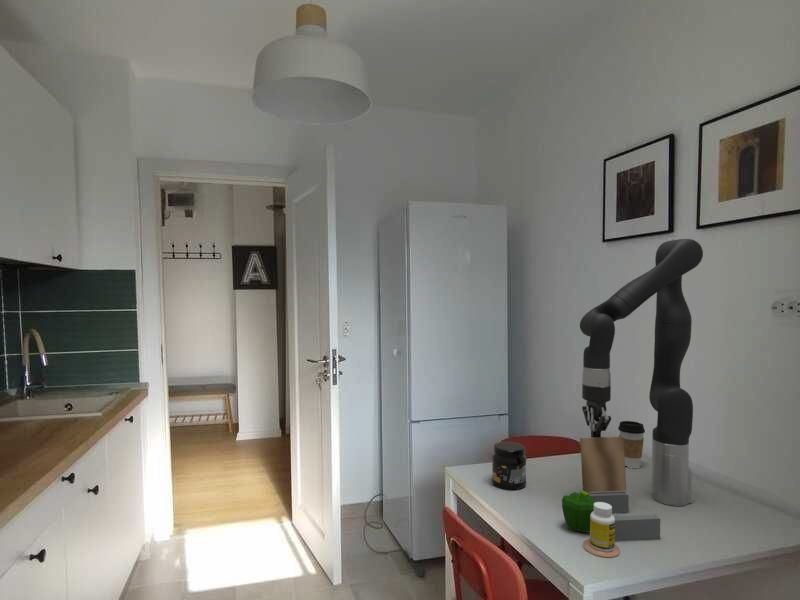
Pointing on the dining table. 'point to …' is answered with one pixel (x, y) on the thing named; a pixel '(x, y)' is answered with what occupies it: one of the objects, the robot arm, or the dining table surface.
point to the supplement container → (509, 465)
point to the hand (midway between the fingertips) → (595, 443)
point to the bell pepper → (578, 510)
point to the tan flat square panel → (603, 464)
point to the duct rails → (629, 518)
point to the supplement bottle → (602, 527)
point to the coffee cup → (632, 442)
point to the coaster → (600, 553)
